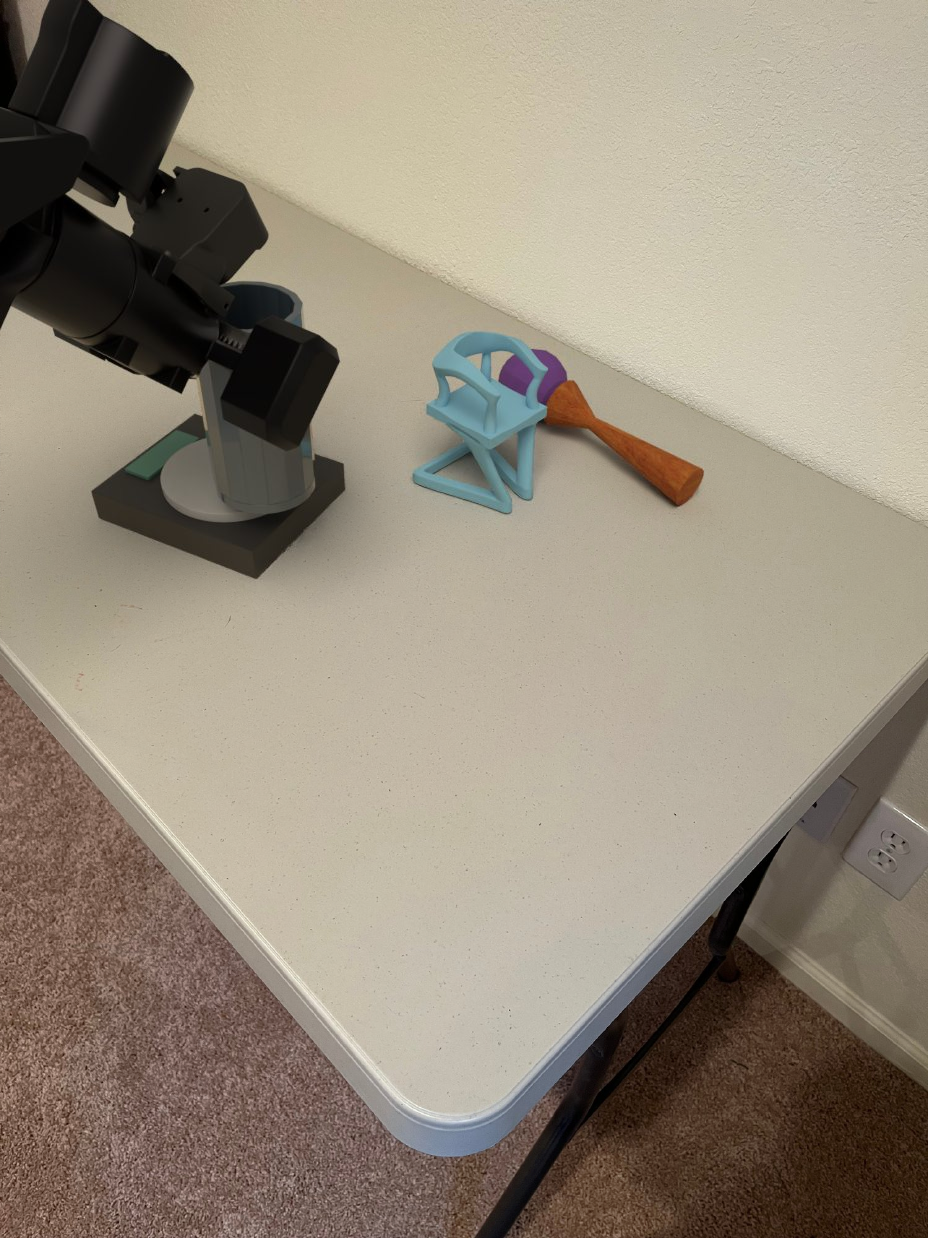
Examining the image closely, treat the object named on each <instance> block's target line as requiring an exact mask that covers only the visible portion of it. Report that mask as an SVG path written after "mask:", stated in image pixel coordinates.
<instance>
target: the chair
mask: <svg viewBox="0 0 928 1238" xmlns="http://www.w3.org/2000/svg"><path fill="white" fill-rule="evenodd" d="M531 349H532V348H530V347H529V345H528V344H527V343H526V342H525V341H523V340H522V339H519V338H518V337H514V336H510V335H506V334H502V333H498V332H492V331H485V330H484V331H482V330H474V331H466V332H464V333H460V334H458V335H457V336H455V337H454V338H453V339H451V340H450V341H449V342H448V343H446V345H444V347H443V348H441V350H439V352H438V353H437V354H436V355H435V356H434V358H433V360H432V363H431V365H432V369H433V372H434V375H435V378H436V381H437V385H438V394H437V397H436V398H435V399H433V400H431V401H429V402H427V403H426V405H425V408H426V409H425V415H427V416H429V417H430V418H433V419H434V420H436V421H438V422H440V423H443V424H444V425H445V426H447V427H448V428H449V429H450V430H451V431H452V432H454V433H455V434H456V435H457V436H458V437H459V438H460V439H461V440H462V441H463V442H461V443H459V444H458V445H456V446H454V447H452V448H450V449H448V450H447V451H445V452H444V453H442V454H440V455H438V456H436V457H435V458H433V459H430V460H429V461H428V462H426V463H424V464H422V465H421V466H419V467H418V468H416V469H414V470H413V472H412V481H413V482H414V483H415V484H417V485H419V486H421V487H425V488H428V489H429V490H434V491H436V492H440V493H443V494H446V495H449V496H452V497H455V498H459V499H463V500H465V501H469V502H473V503H476V504H479V505H482V506H485V507H487V508H490V509H492V510H495V511H498V512H501V513H503V514H510V513H511V512H512V511H513V504H512V503H513V502H512V501H513V499H512V497H511V494H509V492H508V490H507V488H506V486H508V487H509V488H510V489H511V490H512V491H513V492H514V493H515V494H516V495H517V496H519V497H520V498H521V499H523V500H527V501H529V500H531V499H533V496H534V495H533V494H534V493H533V491H534V490H533V489H534V487H533V486H534V485H533V484H534V483H533V482H534V455H535V453H534V451H535V439H536V438H535V436H536V429H537V424H538V422H540V421H542V420H544V418H545V417H546V414H547V406H545V405H543V404H541V403H539V402H538V400H537V391H538V388H539V385H540V383H541V381H542V379H543V377H544V376H545V374H546V372H547V370H548V368H547V367H546V366H545V365H543V364H542V363H541V362H540V361H539V360H538V358H537V357H536V356H535V354H534V353H533V352H532V350H531ZM496 352H508V353H510V354H513V355H514V354H515V355H516V356H517V357H519V358H520V359H521V360H522V361H523V362H524V364H525V365H526V366H527V367H528V368H529V370H530V371H531V373H532V374H533V375H534V378H533V380H532V381H531V383H530V385H529V387H528V389H527V392H526V397H525V396H523V395H521V394H519V393H517V392H515V391H513V390H511V389H509V388H507V387H506V386H504V385H503V384H501V383H499V382H498V380H497V379H494V378H492V353H496ZM480 354H481V363H480V369H479V368H478V367H477V366H476V364H474V363H473V362H472V361H471V360H470V359H468V358H469V357H472V356H474V355H480ZM447 377H450V378H455V379H458V380H461V381H462V382H463V383H465V384H464V385H462V386H461V387H459V388H456V389H455V390H453V391H451V387H450V384H449V382H448V380H447ZM515 434H516V440H517V441H516V443H517V446H516V447H517V456H516V457H517V460H516V461H517V464H516V465H517V467H516V470H515V469H514V468H513V467H512V466H511V464H509V463H508V461H506V460H505V458H503V456H502V455H501V454H500V453H499V452H498V451H497V450H496V449H495V448H496V447H497V446H499V445H501V444H503V443H504V442H505V441H506V440H508V439H509V438H511V437H512V436H513V435H515ZM469 453H472V455H473V457H474V459H475V460H476V462H477V464H478V466H479V468H480V469H481V471H482V474H483V476H484V477H485V479H486V481H487V483H488V485H489V488H490V489H488V488H484V487H481V486H477V485H473V484H470V483H466V482H462V481H459V480H455V479H451V478H448V477H445V476H441V475H437V474H435V473H436V472H438V471H440V470H441V469H444V468H445V467H446V466H448V465H450V464H452V463H453V462H456V461H457V460H458V459H460V458H462V457H463V456H465V455H468V454H469ZM504 483H505V484H506V486H505V484H504Z"/></svg>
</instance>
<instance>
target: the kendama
mask: <svg viewBox="0 0 928 1238" xmlns="http://www.w3.org/2000/svg"><path fill="white" fill-rule="evenodd" d="M530 349H531V350H532V352H533V353H534V354H535V356H536V357H537V358H538V360H539V361H540V362H541V363H542V364H543V365H545V366H546V367H547V368H548V370H547V372H546V374H545V376H544V377H543V379H542V381H541V383H540V385H539V388H538V391H537V400H538V402H539V403H541V404H543V405H545V406H547V414H546V417H545V418H543V421H544V423H545V424H546V425H547V426H556V427H564V428H565V427H566V428H575V429H576V428H577V429H585V430H589V431H590V432H591V433H592V434H593V435H595V436H596V437H597V438H598V439H600V441H601V442H603V443H604V444H605V445H607V447H609V448H610V449H611V450H612V451H614V452H615V453H616V454H617V455H618V456H620V457H621V459H623V460H624V461H625V462H627V463H628V464H629V465H630V466H631V467H632V468H633V469H635V470H636V471H637V472H638V473H639V474H641V475H642V476H643V477H644V478H645V479H646V480H647V481H649V482H650V483H651V484H652V485H654V487H656V488H657V489H658V490H659V491H660V492H662V493H663V494H664V495H665V496H666V497H667V498H669V499H670V500H671V501H672V502H674V503H675V504H676V505H677V506H683V505H684V504H685V503H687V502H688V501H689V500H690V499H691V498H692V497H693V496H694V495H695V493H696V492H697V490H698V489H699V487H700V486H701V484H702V481H703V479H704V475H705V470H704V469H703V468H702V467H700V466H698V465H695V464H693V463H691V462H689V461H687V460H685V459H683V458H681V457H679V456H676V455H675V454H673V453H670V452H668V451H667V450H664V449H662V448H660V447H658V446H657V445H654V444H652V443H650V442H647V441H646V440H643V439H641V438H640V437H637V436H635V435H633V434H631V433H629V432H627V431H625V430H622V429H620V428H618V427H616V426H615V425H613V424H610V423H608V422H606V421H604V420H602V419H600V418H598V417H596V416H595V414H594V412H593V410H592V408H591V407H590V405H589V403H588V401H587V399H586V398H585V395H584V394H583V392H582V390H581V389H580V387H579V384H578V383H577V382H576V381H575V380H573V379H568V372H567V370H566V369H565V367H564V365H563V364H562V362H561V361H560V360H559V358H558V357H557V355H556V356H555V355H554V354H553V353H551V352H549V350H546V349H539V348H538V349H537V348H530ZM533 378H534V375H533V374H532V373H531V371H530V370H529V368H528V367H527V366H526V365H525V364H524V362H523V361H522V360H521V359H520V358H519V357H517V356H516V355H515V354H513V355H511V356H510V357H508V358H507V360H506V361H505V363H504V364H503V365H502V366H501V369H500V371H499V374H498V380H497V381H498V382H499V383H501V384H503V385H504V386H506V387H507V388H509V389H511V390H513V391H515V392H517V393H519V394H521V395H523V396H525V397H526V392H527V389H528V387H529V385H530V383H531V381H532V380H533Z"/></svg>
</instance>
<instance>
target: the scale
mask: <svg viewBox="0 0 928 1238" xmlns="http://www.w3.org/2000/svg"><path fill="white" fill-rule="evenodd" d="M314 457H315V480H316V483H315V488H314V490H313V493H312V494H311V495H310V497H309V498H308V499H307V500H305V501H304V502H303V503H301V504H300V505H298V506H296V507H294V508H292V509H289V510H286V511H282V512H278V513H272V514H252V513H246V512H242V511H238V510H236V509H233V508H231V507H229V506H228V505H226V504H225V503H224V502H223V501H222V500H221V499H220V498H219V496H218V494H217V492H216V487H215V482H214V480H213V474H212V468H211V462H210V457H209V451H208V445H207V439H206V433H205V427H204V421H203V416H202V414H198V413H193V414H192V415H190V416H189V417H188V418H186V419H185V420H184V421H182V422H181V423H180V424H179V425H177V426H176V427H175V428H173V429H172V430H171V431H169V432H168V433H166V434H165V435H164V436H162V437H161V438H160V439H159V440H158V441H156V442H155V443H153V444H152V445H150V447H148V448H147V449H145V450H144V451H143V452H141V453H140V454H139V455H137V456H136V457H135V458H133V459H132V460H131V461H129V462H128V463H126V464H125V465H123V466H122V467H121V468H120V469H118V470H117V471H116V472H114V473H113V474H112V475H111V476H109V477H108V478H107V479H105V480H103V481H102V482H101V483H100V484H98V485H97V486H96V487H94V488H93V489H92V490H91V491H90V492H91V496H92V499H93V502H94V506H95V510H96V513H97V517H98V518H99V519H101V520H103V521H106V522H108V523H110V524H113V525H116V526H119V527H121V528H124V529H127V530H129V531H132V532H133V533H137V534H140V535H142V536H144V537H147V538H150V539H152V540H154V541H157V542H160V543H163V544H165V545H168V546H169V547H170V546H171V547H173V548H176V549H178V550H180V551H183V552H186V553H189V554H191V555H193V556H196V557H198V558H201V559H204V560H207V561H209V562H211V563H213V564H214V563H215V564H216V565H219V566H221V567H224V568H227V569H230V570H232V571H235V572H238V573H240V574H242V575H245V576H248V577H250V578H252V579H258V578H259V577H260V576H261V575H262V573H264V572H265V571H266V570H267V569H268V568H269V567H270V566H271V565H272V564H273V563H274V562H275V561H276V560H277V559H278V558H279V557H280V556H281V555H282V554H283V553H284V552H285V551H286V550H287V549H288V548H289V547H290V546H291V545H292V544H293V543H294V542H295V541H296V540H297V539H298V538H299V537H300V536H301V534H302V533H304V532H305V531H306V529H307V528H309V526H310V525H311V524H313V523H314V522H315V521H316V519H317V518H319V516H321V514H323V512H324V511H326V509H327V508H328V507H330V505H331V504H333V502H334V501H335V500H337V498H338V497H339V496H340V495H341V494H342V493H343V492H344V491H346V483H345V482H346V479H345V463H343V462H341V461H338V460H334V459H332V458H329V457H326V456H323V455H320V454H317V453H314Z"/></svg>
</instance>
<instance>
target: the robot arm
mask: <svg viewBox="0 0 928 1238" xmlns="http://www.w3.org/2000/svg"><path fill="white" fill-rule="evenodd" d="M194 90H195V84H194V81H193V79H192V77H191V75H190V73H188V71H187V70H186V69H185V68H184V67H183V66H182V64H181V63H179V61H178V60H177V59H175V58H174V56H172V55H171V54H170V53H168V52H167V51H165V50H162V49H158V48H156V47H155V46H153V45H152V44H150V43H149V42H148V41H147V40H145V39H144V38H143V37H141V36H140V35H138V34H136V33H135V32H134V31H132V30H130V29H129V28H127V27H126V26H124V25H122V24H120V23H119V22H116V21H115V20H113V19H111V18H110V17H107V16H105V15H104V14H103V13H102V12H101V11H100V10H99V9H98V8H97V7H96V6H95V5H94V4H93V3H92V2H91V1H90V0H48V2H47V5H46V7H45V9H44V12H43V14H42V17H41V21H40V25H39V31H38V35H37V39H36V41H35V44H34V46H33V49H32V51H31V53H30V55H29V58H28V61H27V62H26V64H25V67H24V68H23V71H22V73H21V76H20V78H19V80H18V82H17V85H16V87H15V90H14V92H13V95H12V97H11V99H10V101H9V102H8V106H7V108H8V109H7V108H4V107H1V106H0V331H1V329H2V327H3V325H4V323H5V321H6V318H7V316H8V314H9V312H10V310H11V307H12V308H14V309H16V310H18V311H20V312H21V313H23V314H25V315H27V316H29V317H31V318H33V319H34V320H37V321H38V322H41V323H43V325H46V326H48V327H50V328H52V331H53V335H54V337H56V338H58V339H60V340H61V341H64V342H66V343H68V344H70V345H71V346H74V348H78V349H79V350H81V351H84V352H86V353H88V354H90V355H91V356H93V357H95V358H97V359H100V360H102V361H103V362H106V361H107V362H108V363H110V364H112V365H115V366H117V367H118V368H120V369H122V370H125V371H126V372H129V373H130V374H133V375H136V376H137V375H138V376H143V377H146V378H148V379H150V380H152V381H154V382H156V383H158V384H159V385H162V386H164V387H166V388H168V389H170V390H172V391H174V392H177V393H178V394H180V395H183V392H184V390H185V388H186V386H187V384H188V382H189V380H196V378H198V376H199V375H200V373H201V370H202V368H203V367H204V366H205V364H206V363H207V362H208V361H210V362H212V363H214V364H216V365H218V366H221V367H223V368H225V369H227V370H229V371H231V372H232V374H231V376H230V378H229V380H228V382H227V385H226V387H225V389H224V391H223V393H222V395H221V397H220V403H221V410H222V416H223V420H225V421H227V422H229V423H231V424H232V425H234V426H236V427H238V428H240V429H242V430H244V431H246V432H248V433H250V434H252V435H254V436H256V437H258V438H260V439H262V440H264V441H266V442H268V443H270V444H272V445H274V446H276V447H278V448H280V449H282V450H284V451H286V452H288V451H290V450H292V449H295V448H297V447H299V446H300V444H301V442H302V440H303V437H304V435H305V433H306V431H307V429H308V427H309V425H310V423H311V421H312V422H313V419H314V418H315V417H314V416H315V415H316V412H317V410H318V408H319V406H320V404H321V402H322V400H323V398H324V396H325V394H326V392H327V390H328V387H329V385H330V384H331V381H332V379H333V377H334V375H335V373H336V371H337V369H338V367H339V365H340V363H341V359H340V355H339V352H338V348H337V347H336V346H334V345H333V344H332V343H330V342H329V341H328V340H327V339H325V338H324V337H323V336H321V335H320V334H318V333H316V332H313V331H311V330H309V329H307V328H305V329H304V328H302V327H299V326H297V325H294V324H292V323H290V322H287V321H285V320H283V319H280V318H278V317H276V316H273V315H272V316H270V317H268V318H266V319H264V320H262V321H260V322H258V323H256V324H255V325H254V327H253V330H252V332H251V333H247V332H245V331H243V330H240V329H238V328H236V327H233V326H231V325H229V324H227V323H224V322H222V321H220V320H218V319H217V318H218V316H221V317H225V316H226V315H227V313H228V311H229V308H230V306H231V304H232V302H233V300H234V298H235V296H233V295H232V294H230V293H229V292H228V291H226V290H225V289H224V288H222V287H221V286H220V285H222V284H225V283H229V282H230V280H232V279H233V277H234V276H235V275H236V274H237V273H238V272H239V270H240V269H241V268H242V267H243V266H244V265H245V263H247V261H249V259H250V258H251V257H252V256H253V254H254V253H255V252H257V251H261V249H262V248H263V247H265V245H266V244H267V242H268V240H269V237H270V234H269V231H268V229H267V227H266V225H265V222H264V221H263V218H262V216H261V214H260V213H259V210H258V208H257V207H256V205H255V203H254V201H253V200H254V199H253V198H252V196H251V194H250V192H249V190H248V188H247V186H246V185H245V183H244V182H242V181H240V180H237V179H234V178H231V177H229V176H226V175H223V174H220V173H217V172H215V171H211V170H208V169H206V168H203V167H191V168H188V169H187V168H184V167H181V166H179V165H176V166H175V167H174V168H173V169H172V172H173V174H174V176H175V177H174V176H172V175H170V174H169V173H167V172H165V171H164V170H162V169H161V168H160V166H161V164H162V161H163V159H164V157H165V155H166V153H167V151H168V148H169V146H170V144H171V142H172V140H173V138H174V135H175V133H176V130H177V128H178V126H179V124H180V121H181V119H182V117H183V115H184V112H185V110H186V108H187V106H188V103H189V102H190V99H191V97H192V95H193V92H194ZM72 190H74V191H76V193H77V192H78V193H79V194H81V195H82V196H85V197H86V198H89V199H91V200H93V201H94V202H97V203H99V204H101V205H104V206H106V207H110V208H114V209H115V208H116V207H117V204H118V202H119V201H120V197H121V196H120V194H121V195H122V196H123V197H124V198H125V202H126V208H127V212H128V213H129V216H130V218H131V220H132V222H133V225H132V233H131V234H130V235H128V234H127V233H125V232H124V231H121V230H119V229H116V228H115V227H113V226H112V225H110V224H109V223H108V222H106V221H105V220H103V219H102V218H101V217H99V216H98V215H97V214H95V213H94V212H92V211H91V210H89V209H88V208H87V207H85V206H83V204H81V203H80V202H78V201H76V199H73V198H72V197H71V196H70V195H68V193H70V191H72ZM217 340H219V341H221V342H224V343H225V344H228V345H230V346H233V347H235V348H236V349H239V350H241V351H242V353H238V352H236V351H234V350H232V349H230V348H227V347H225V346H223V345H221V344H219V343H217Z"/></svg>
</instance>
